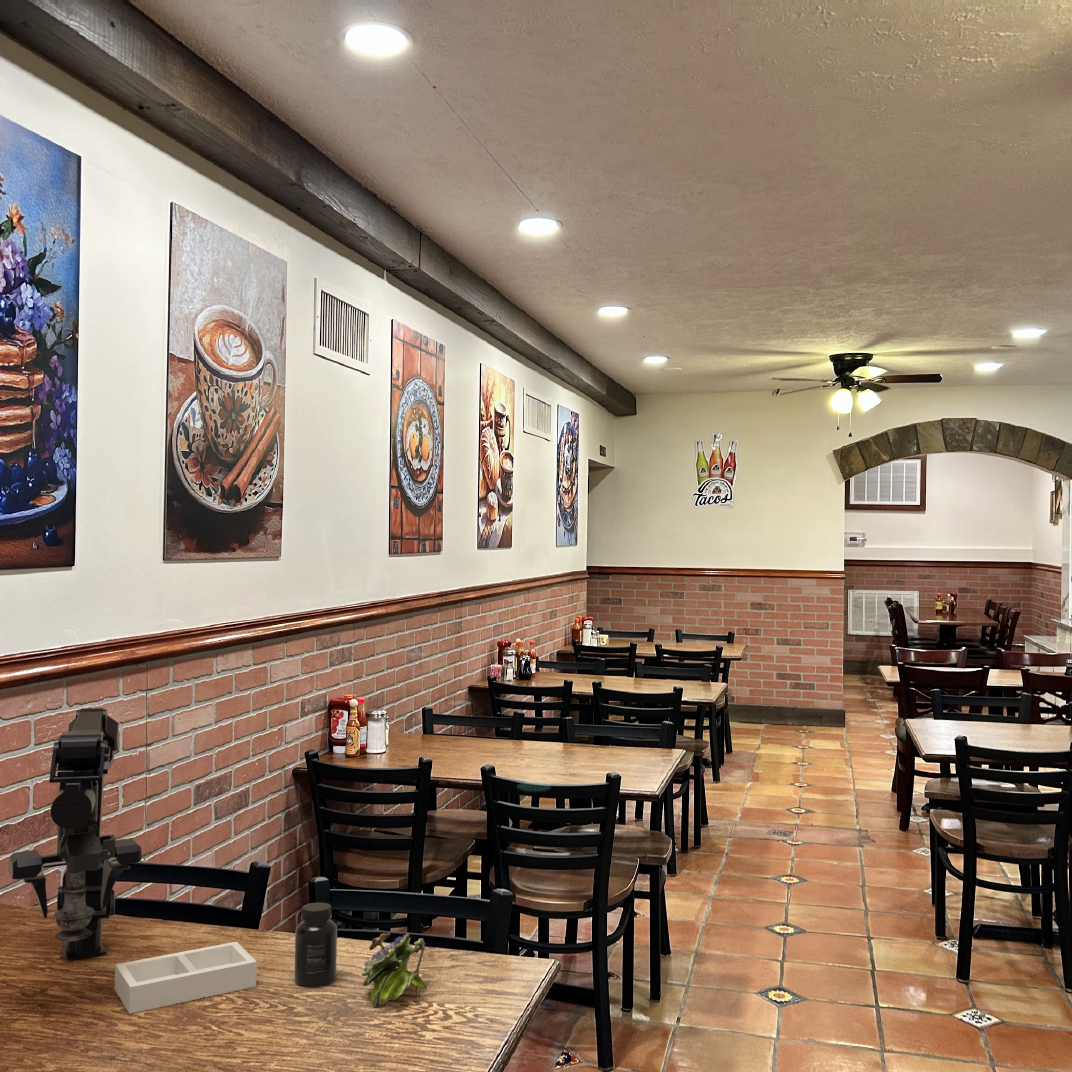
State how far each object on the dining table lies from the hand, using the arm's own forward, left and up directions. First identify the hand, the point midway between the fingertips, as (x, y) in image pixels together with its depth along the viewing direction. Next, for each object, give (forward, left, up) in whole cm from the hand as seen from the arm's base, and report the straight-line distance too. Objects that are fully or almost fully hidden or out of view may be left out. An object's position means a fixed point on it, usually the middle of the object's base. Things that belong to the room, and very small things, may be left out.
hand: (74, 912), depth 161 cm
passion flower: (+26, +44, -13) cm, 53 cm away
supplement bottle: (+14, +35, -13) cm, 40 cm away
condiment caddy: (+7, +16, -13) cm, 22 cm away
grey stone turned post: (0, 0, -4) cm, 4 cm away
